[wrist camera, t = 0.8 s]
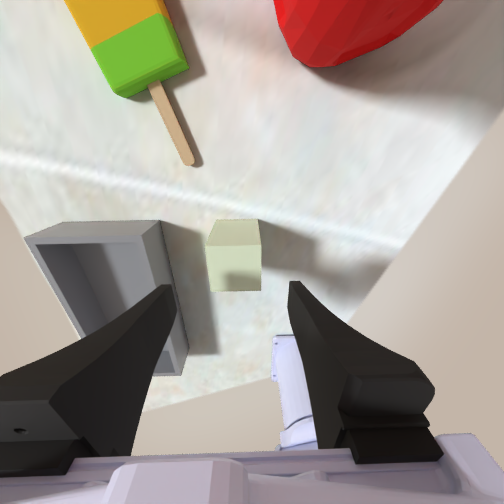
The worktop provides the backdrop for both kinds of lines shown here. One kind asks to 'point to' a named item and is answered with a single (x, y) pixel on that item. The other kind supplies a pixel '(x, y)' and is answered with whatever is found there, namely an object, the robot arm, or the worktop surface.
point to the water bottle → (345, 26)
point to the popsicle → (135, 52)
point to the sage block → (234, 255)
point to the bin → (109, 275)
